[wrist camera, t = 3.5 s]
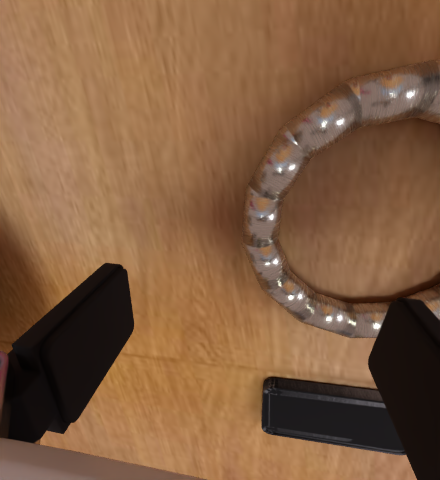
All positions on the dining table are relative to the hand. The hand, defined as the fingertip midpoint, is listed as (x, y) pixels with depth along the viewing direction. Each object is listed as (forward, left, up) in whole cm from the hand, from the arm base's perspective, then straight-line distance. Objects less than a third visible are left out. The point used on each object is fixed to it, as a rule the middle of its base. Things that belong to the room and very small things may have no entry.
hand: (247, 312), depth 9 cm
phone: (-10, +21, -11) cm, 26 cm away
